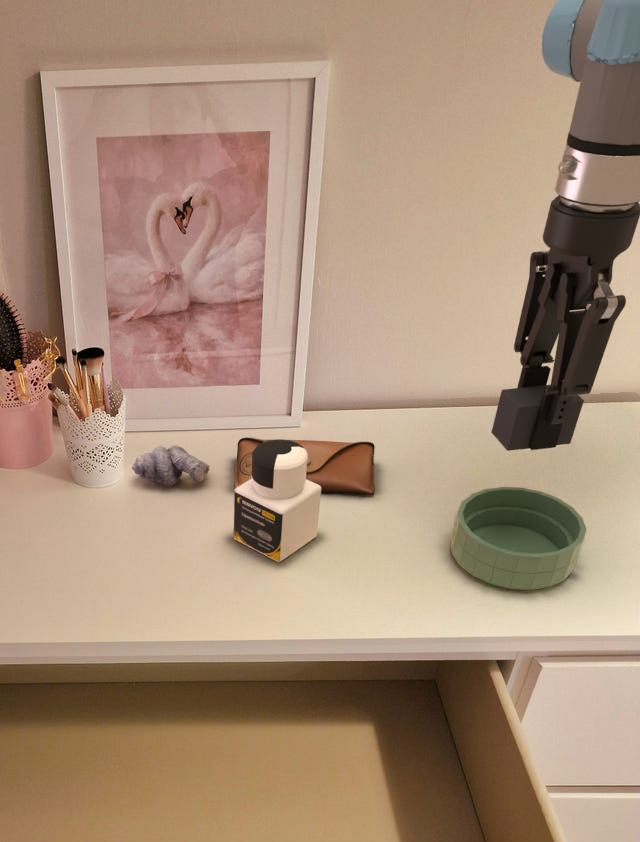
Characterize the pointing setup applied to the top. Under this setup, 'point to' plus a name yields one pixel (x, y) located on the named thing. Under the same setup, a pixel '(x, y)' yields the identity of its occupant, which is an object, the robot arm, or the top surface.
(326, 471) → the sunglasses case
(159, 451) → the seashell
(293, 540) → the medicine bottle
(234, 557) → the top surface
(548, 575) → the bowl
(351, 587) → the top surface
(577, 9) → the robot arm
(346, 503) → the top surface
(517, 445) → the eraser
